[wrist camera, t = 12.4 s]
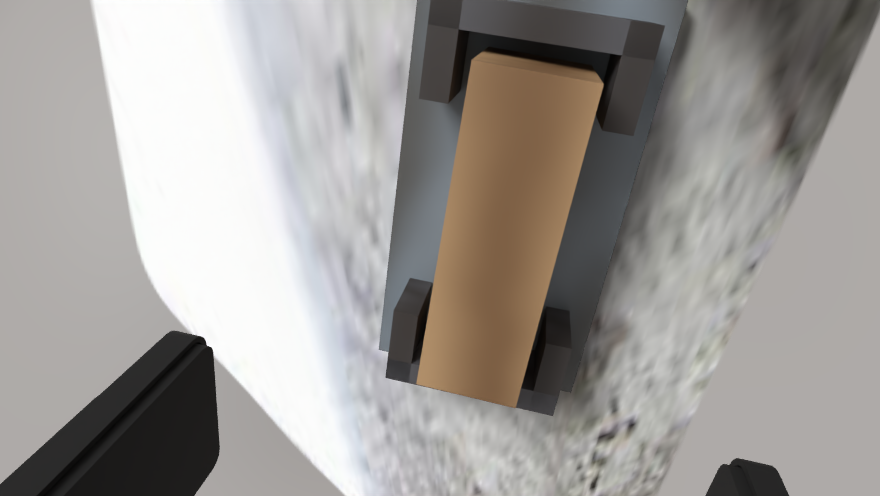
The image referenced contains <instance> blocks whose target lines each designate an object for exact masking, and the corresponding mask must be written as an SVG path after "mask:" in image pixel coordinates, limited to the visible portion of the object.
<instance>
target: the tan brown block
mask: <svg viewBox="0 0 880 496" xmlns="http://www.w3.org/2000/svg"><path fill="white" fill-rule="evenodd" d="M603 85H604V84H603V82H602V81H601V79H600V78H599V76H598V74H597V73H596V71H595V70H594V68H593V67H592V65H588V64H582V63H577V62H571V61H566V60H560V59H555V58H549V57H544V56H538V55H533V54H527V53H522V52H516V51H511V50H505V49H499V48H494V47H487V48H486V49H485V50H484V51H482V52H481V53H480V54H478V55H477V56H476V57H475V58H473V59H472V61H471V66H470V72H469V78H468V84H467V90H466V96H465V102H464V107H463V113H462V119H461V125H460V131H459V137H458V143H457V148H456V154H455V160H454V166H453V172H452V178H451V184H450V189H449V195H448V201H447V207H446V213H445V219H444V225H443V230H442V236H441V242H440V248H439V254H438V260H437V266H436V272H435V277H434V283H433V289H432V295H431V301H430V307H429V313H428V318H427V324H426V330H425V336H424V342H423V348H422V354H421V359H420V365H419V371H418V377H417V383H416V384H418V385H422V386H426V387H430V388H434V389H438V390H442V391H447V392H451V393H455V394H459V395H463V396H467V397H471V398H475V399H480V400H484V401H488V402H492V403H496V404H500V405H504V406H509V407H513V408H516V405H517V401H518V397H519V394H520V390H521V386H522V383H523V379H524V375H525V372H526V368H527V364H528V361H529V357H530V353H531V350H532V346H533V342H534V339H535V335H536V331H537V328H538V324H539V320H540V317H541V313H542V309H543V306H544V302H545V298H546V295H547V291H548V287H549V284H550V280H551V276H552V273H553V269H554V265H555V262H556V258H557V254H558V251H559V247H560V243H561V240H562V236H563V232H564V229H565V225H566V221H567V217H568V214H569V210H570V206H571V203H572V199H573V195H574V192H575V188H576V184H577V181H578V177H579V173H580V170H581V166H582V162H583V159H584V155H585V151H586V148H587V144H588V140H589V137H590V133H591V129H592V126H593V122H594V118H595V115H596V111H597V107H598V104H599V100H600V96H601V93H602V89H603Z"/></svg>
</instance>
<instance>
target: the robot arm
mask: <svg viewBox="0 0 880 496" xmlns="http://www.w3.org/2000/svg"><path fill="white" fill-rule="evenodd" d="M219 447H220V446H219V432H218V416H217V403H216V387H215V372H214V357H213V350H212V348H211V347H209V346H207V345H206V341H205V339H204V338H203V337H200V336H196V335H192V334H187V333H183V332H178V331H171V332H169V333H168V334H166V335H165V336H164V337H163V338H162V339H161V340H159V342H157V343H156V344H155V345H154V346H153V347H152V348H151V349H150V350H148V351H147V352H146V353H145V354H144V355H143V356H142V357H141V358H140V359H139V360H138V361H137V362H135V363H134V364H133V365H132V366H131V367H130V368H129V369H128V370H126V371H125V372H124V373H123V374H122V375H121V376H120V377H119V378H118V379H117V380H116V381H114V383H112V384H111V385H110V386H109V387H108V388H107V389H106V390H105V391H103V392H102V393H101V394H100V395H99V396H97V397H96V398H95V399H94V400H92V401H91V402H90V403H89V404H88V405H87V406H86V407H85V408H84V409H83V410H82V411H80V412H79V413H78V414H77V415H76V416H75V417H74V418H73V419H72V420H70V421H69V422H68V423H67V424H66V425H65V426H64V427H63V428H62V429H61V430H59V431H58V432H57V433H56V434H55V435H54V436H53V437H52V438H51V439H50V440H48V442H46V443H45V444H44V445H43V446H42V447H41V448H40V449H39V450H37V451H36V452H35V453H34V454H33V455H32V456H31V457H30V458H29V459H27V460H26V461H25V462H24V463H23V464H22V465H21V466H20V467H19V468H18V469H17V470H15V471H14V473H12V474H11V475H10V476H9V477H8V478H7V479H5V480H4V481H3V482H2V483H1V484H0V496H194V495H195V494H196V492H197V491H198V489H199V488H200V487H201V485H202V484H203V482H204V481H205V480H206V478H207V477H208V475H209V474H210V472H211V471H212V469H213V468H214V466H215V464H216V462H217V459H218V456H219V449H220V448H219ZM706 496H789V495H788V492H787V490H786V488H785V486H784V484H783V481H782V479H781V477H780V475H779V473H778V471H777V470H776V469H775V468H774V467H773V466H770V465H766V464H761V463H757V462H752V461H748V460H744V459H739V458H736V459H734V460H733V461H732V462H731V464H730V465H727V464H723V465H721V466H720V468H719V469H718V471H717V473H716V475H715V477H714V479H713V482H712V483H711V485H710V488H709V489H708V492H707V494H706Z"/></svg>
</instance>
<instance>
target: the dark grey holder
mask: <svg viewBox="0 0 880 496" xmlns="http://www.w3.org/2000/svg"><path fill="white" fill-rule="evenodd" d="M687 3H688V0H417V7H416V16H415V25H414V34H413V43H412V52H411V61H410V70H409V79H408V89H407V98H406V107H405V116H404V125H403V134H402V143H401V152H400V161H399V171H398V180H397V189H396V198H395V207H394V216H393V225H392V234H391V243H390V253H389V262H388V271H387V280H386V289H385V298H384V307H383V316H382V325H381V335H380V344H379V350H382V351H387V352H389V353H388V362H387V370H386V378H389V379H393V380H398V381H402V382H406V383H411V384H415V385H418V384H416V383H417V377H418V371H419V365H420V359H421V354H422V348H423V342H424V336H425V330H426V324H427V318H428V313H429V307H430V301H431V295H432V289H433V283H434V277H435V272H436V266H437V260H438V254H439V248H440V242H441V236H442V230H443V225H444V219H445V213H446V207H447V201H448V195H449V189H450V184H451V178H452V172H453V166H454V160H455V154H456V148H457V143H458V137H459V131H460V125H461V119H462V113H463V107H464V102H465V96H466V90H467V84H468V78H469V72H470V66H471V61H472V59H473V58H475V57H476V56H477V55H478V54H480V53H481V52H482V51H484V50H485V49H486V48H487V47H494V48H499V49H505V50H511V51H516V52H522V53H527V54H533V55H538V56H544V57H549V58H555V59H560V60H566V61H571V62H577V63H582V64H588V65H592V67H593V68H594V70H595V71H596V73H597V74H598V76H599V78H600V79H601V81H602V82H603V84H604V85H603V89H602V93H601V96H600V100H599V104H598V107H597V111H596V115H595V118H594V122H593V126H592V129H591V133H590V137H589V140H588V144H587V148H586V151H585V155H584V159H583V162H582V166H581V170H580V173H579V177H578V181H577V184H576V188H575V192H574V195H573V199H572V203H571V206H570V210H569V214H568V217H567V221H566V225H565V229H564V232H563V236H562V240H561V243H560V247H559V251H558V254H557V258H556V262H555V265H554V269H553V273H552V276H551V280H550V284H549V287H548V291H547V295H546V298H545V302H544V306H543V309H542V313H541V317H540V320H539V324H538V328H537V331H536V335H535V339H534V342H533V346H532V350H531V353H530V357H529V361H528V364H527V368H526V372H525V375H524V379H523V383H522V386H521V390H520V394H519V397H518V401H517V405H516V408H520V409H525V410H529V411H534V412H538V413H542V414H547V415H551V416H553V414H554V410H555V407H556V403H557V400H558V396H559V393H560V390H562V391H566V392H571V391H572V387H573V384H574V381H575V377H576V374H577V371H578V367H579V364H580V361H581V357H582V354H583V351H584V347H585V344H586V341H587V337H588V334H589V330H590V327H591V324H592V320H593V317H594V314H595V310H596V307H597V304H598V300H599V297H600V294H601V290H602V287H603V284H604V280H605V277H606V274H607V270H608V267H609V264H610V260H611V257H612V254H613V250H614V247H615V244H616V240H617V237H618V234H619V230H620V227H621V223H622V220H623V217H624V213H625V210H626V207H627V203H628V200H629V197H630V193H631V190H632V187H633V183H634V180H635V177H636V173H637V170H638V167H639V163H640V160H641V157H642V153H643V150H644V147H645V143H646V140H647V137H648V133H649V130H650V126H651V123H652V120H653V116H654V113H655V110H656V106H657V103H658V100H659V96H660V93H661V90H662V86H663V83H664V80H665V76H666V73H667V70H668V66H669V63H670V60H671V56H672V53H673V50H674V46H675V43H676V40H677V36H678V33H679V29H680V26H681V23H682V19H683V16H684V13H685V9H686V6H687ZM420 386H422V385H420ZM424 387H426V386H424ZM428 388H430V387H428ZM433 389H434V388H433ZM437 390H438V389H437ZM441 391H442V390H441ZM446 392H447V391H446ZM450 393H451V392H450Z"/></svg>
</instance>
